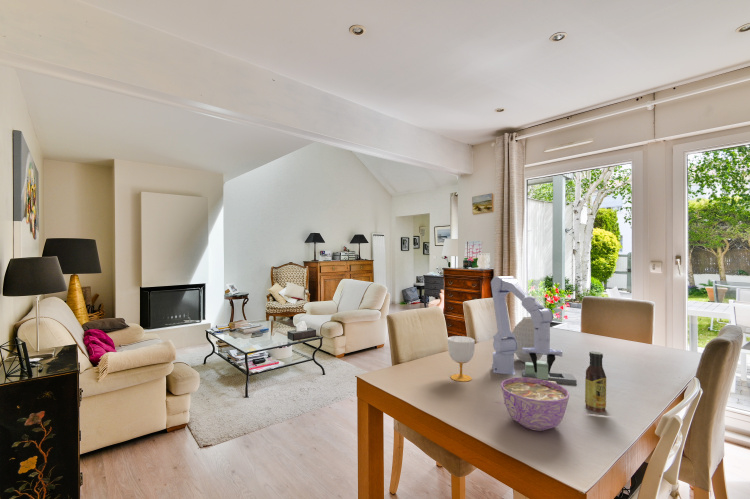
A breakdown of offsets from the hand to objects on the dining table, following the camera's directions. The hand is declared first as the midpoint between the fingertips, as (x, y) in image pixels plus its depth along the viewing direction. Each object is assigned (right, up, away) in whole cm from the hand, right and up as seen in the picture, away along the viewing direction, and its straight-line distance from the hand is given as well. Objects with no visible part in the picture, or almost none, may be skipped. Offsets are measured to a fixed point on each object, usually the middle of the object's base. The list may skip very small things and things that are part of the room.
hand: (541, 372), depth 143 cm
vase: (+10, -7, +36) cm, 39 cm away
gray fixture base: (+7, -7, +10) cm, 14 cm away
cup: (-30, -7, +12) cm, 33 cm away
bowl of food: (-16, -7, -30) cm, 34 cm away
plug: (0, -2, 0) cm, 2 cm away
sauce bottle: (+10, -7, -19) cm, 22 cm away
